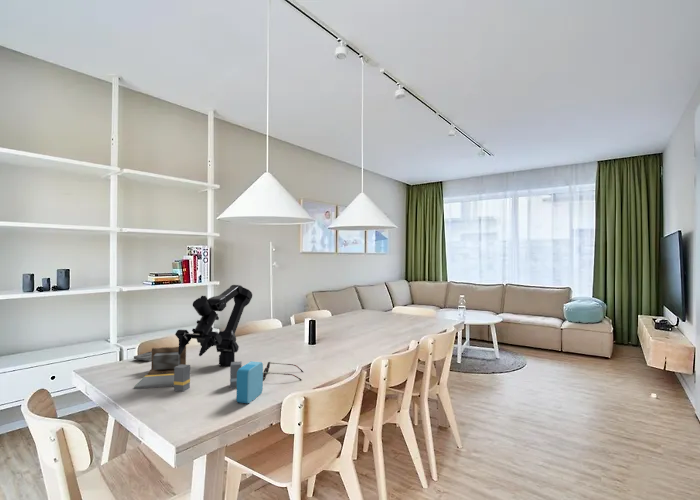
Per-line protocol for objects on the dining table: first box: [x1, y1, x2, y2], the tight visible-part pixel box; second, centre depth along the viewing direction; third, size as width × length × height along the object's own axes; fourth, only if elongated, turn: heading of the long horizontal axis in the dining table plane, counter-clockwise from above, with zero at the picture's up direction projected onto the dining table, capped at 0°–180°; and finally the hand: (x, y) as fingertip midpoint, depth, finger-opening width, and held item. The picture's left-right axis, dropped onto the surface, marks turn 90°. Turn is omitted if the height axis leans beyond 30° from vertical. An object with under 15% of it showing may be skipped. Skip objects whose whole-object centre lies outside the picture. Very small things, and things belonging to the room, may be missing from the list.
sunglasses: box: [263, 361, 304, 381], centre depth 160 cm, size 14×16×5 cm
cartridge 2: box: [229, 361, 243, 389], centre depth 147 cm, size 4×4×9 cm
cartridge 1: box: [173, 364, 191, 393], centre depth 143 cm, size 4×4×9 cm
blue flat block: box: [235, 361, 264, 404], centre depth 135 cm, size 12×4×12 cm, turn 168°
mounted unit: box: [147, 345, 187, 375], centre depth 165 cm, size 14×7×10 cm, turn 103°
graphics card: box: [133, 350, 152, 362], centre depth 186 cm, size 17×4×12 cm
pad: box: [133, 373, 174, 390], centre depth 151 cm, size 14×14×1 cm
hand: (189, 355), depth 147 cm, fingers open, 9 cm apart
